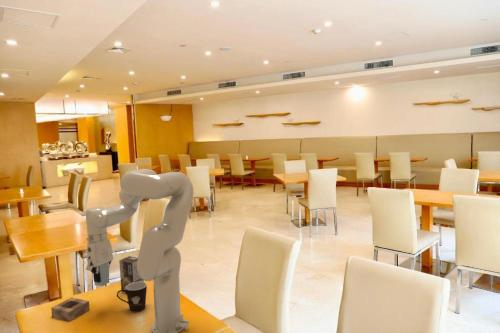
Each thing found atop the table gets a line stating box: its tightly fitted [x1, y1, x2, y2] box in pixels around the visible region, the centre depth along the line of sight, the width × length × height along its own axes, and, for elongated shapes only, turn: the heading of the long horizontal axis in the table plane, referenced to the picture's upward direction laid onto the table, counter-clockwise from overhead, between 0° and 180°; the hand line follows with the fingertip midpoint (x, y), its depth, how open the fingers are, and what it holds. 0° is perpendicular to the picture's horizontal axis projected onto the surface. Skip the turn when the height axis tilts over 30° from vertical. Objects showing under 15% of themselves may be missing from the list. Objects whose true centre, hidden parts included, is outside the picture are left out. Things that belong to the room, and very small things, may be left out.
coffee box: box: [118, 255, 145, 295], centre depth 170 cm, size 9×6×16 cm
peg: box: [94, 263, 110, 287], centre depth 153 cm, size 4×4×10 cm
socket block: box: [50, 297, 91, 322], centre depth 152 cm, size 10×10×4 cm
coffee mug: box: [116, 281, 148, 313], centre depth 155 cm, size 12×9×10 cm
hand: (101, 279), depth 153 cm, fingers closed on peg, 4 cm apart
